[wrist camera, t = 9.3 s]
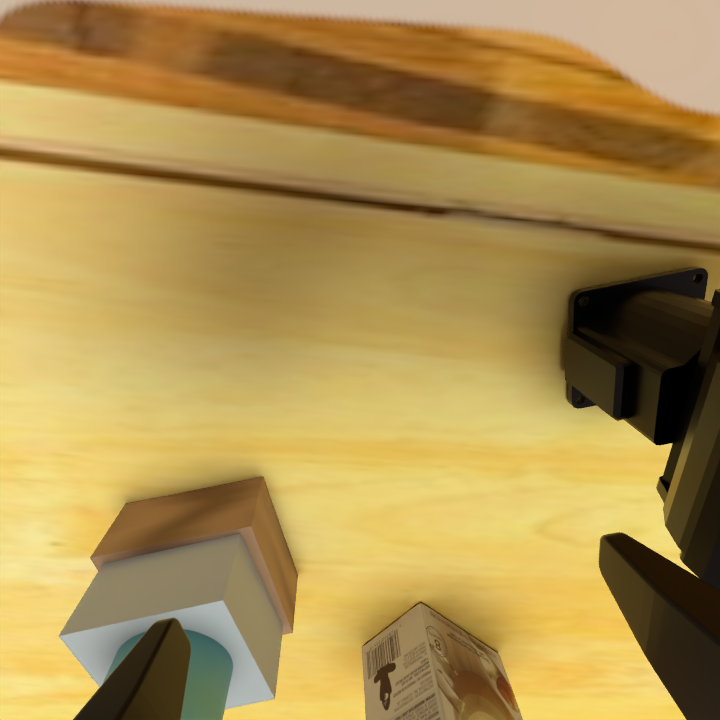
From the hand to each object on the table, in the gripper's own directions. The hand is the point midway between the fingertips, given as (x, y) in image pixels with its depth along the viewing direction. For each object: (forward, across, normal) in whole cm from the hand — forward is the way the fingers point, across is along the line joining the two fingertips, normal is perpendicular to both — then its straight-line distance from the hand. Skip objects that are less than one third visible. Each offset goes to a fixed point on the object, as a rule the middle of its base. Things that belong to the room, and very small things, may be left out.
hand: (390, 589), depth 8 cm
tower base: (+13, +10, +10) cm, 20 cm away
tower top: (+9, +10, +10) cm, 17 cm away
